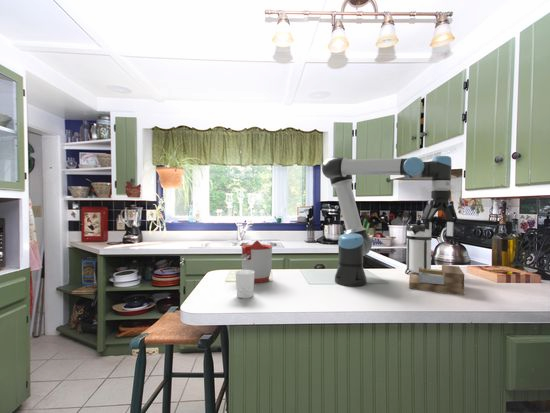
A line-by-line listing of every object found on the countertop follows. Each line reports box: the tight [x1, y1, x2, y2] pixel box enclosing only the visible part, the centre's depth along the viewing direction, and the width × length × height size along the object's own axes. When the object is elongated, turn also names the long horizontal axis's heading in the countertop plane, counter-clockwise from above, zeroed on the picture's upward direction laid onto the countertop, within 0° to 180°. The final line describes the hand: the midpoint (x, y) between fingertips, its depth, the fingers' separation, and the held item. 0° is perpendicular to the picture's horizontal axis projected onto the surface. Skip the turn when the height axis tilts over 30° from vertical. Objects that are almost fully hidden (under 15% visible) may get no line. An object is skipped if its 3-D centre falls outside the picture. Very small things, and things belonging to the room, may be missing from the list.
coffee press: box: [404, 219, 433, 275], centre depth 156 cm, size 17×16×30 cm
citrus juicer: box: [240, 240, 273, 284], centre depth 140 cm, size 16×17×20 cm
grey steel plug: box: [418, 272, 445, 285], centre depth 126 cm, size 11×4×4 cm, turn 63°
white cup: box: [235, 269, 255, 299], centre depth 116 cm, size 8×8×10 cm
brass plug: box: [419, 267, 443, 275], centre depth 135 cm, size 11×4×4 cm, turn 63°
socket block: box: [408, 264, 465, 296], centre depth 130 cm, size 21×17×9 cm
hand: (438, 236), depth 128 cm, fingers open, 13 cm apart
